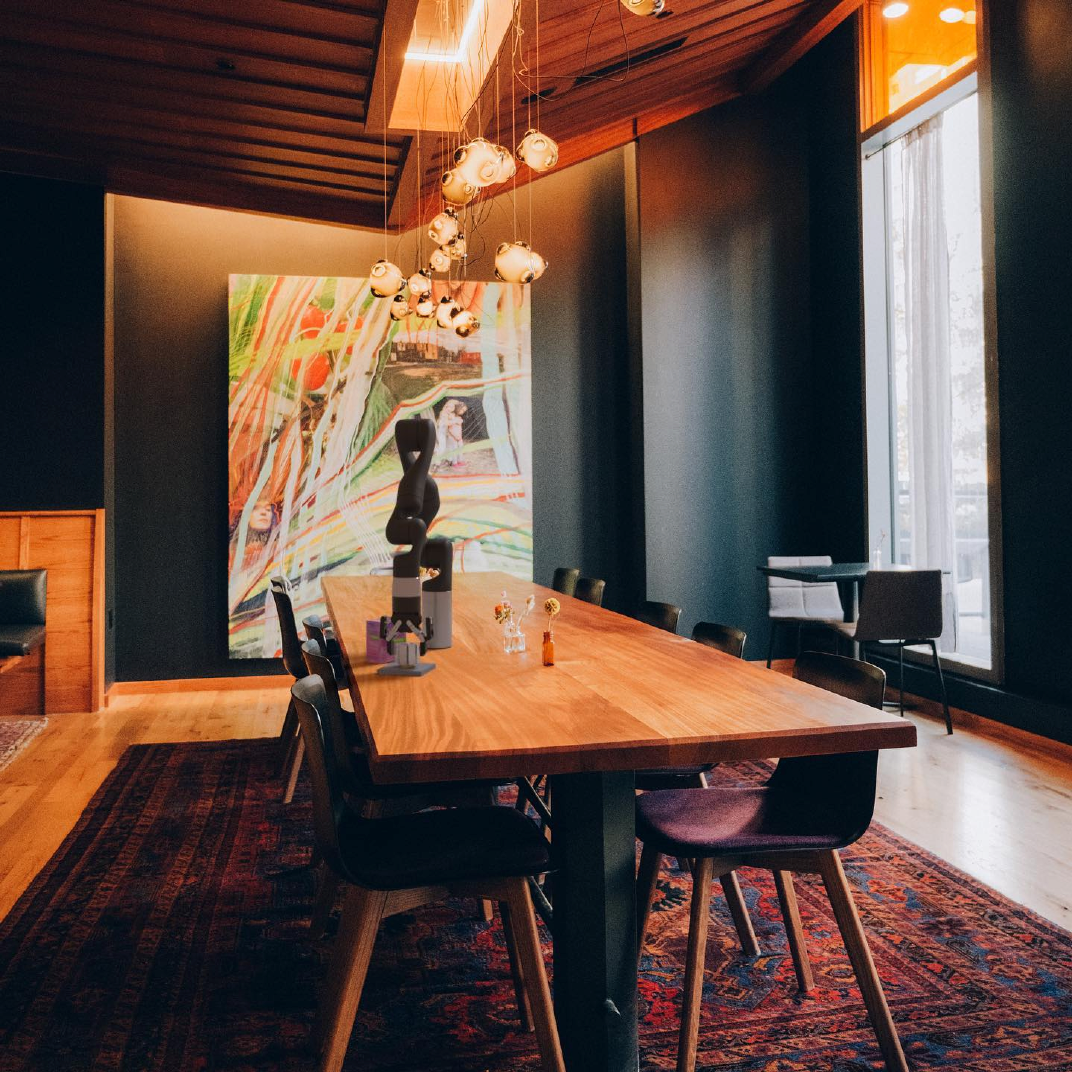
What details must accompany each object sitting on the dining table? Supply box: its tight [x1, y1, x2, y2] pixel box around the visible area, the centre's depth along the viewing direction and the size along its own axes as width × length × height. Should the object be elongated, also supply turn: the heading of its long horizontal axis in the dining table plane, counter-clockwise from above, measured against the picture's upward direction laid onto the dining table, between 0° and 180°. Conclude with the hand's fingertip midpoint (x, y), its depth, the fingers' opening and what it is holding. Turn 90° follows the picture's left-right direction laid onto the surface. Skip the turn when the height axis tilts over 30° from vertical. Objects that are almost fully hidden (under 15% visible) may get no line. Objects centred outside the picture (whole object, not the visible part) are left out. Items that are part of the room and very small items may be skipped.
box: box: [365, 618, 407, 665], centre depth 260 cm, size 10×6×12 cm, turn 143°
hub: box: [394, 641, 420, 665], centre depth 244 cm, size 6×6×5 cm
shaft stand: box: [376, 643, 437, 677], centre depth 244 cm, size 12×12×7 cm
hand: (406, 655), depth 244 cm, fingers open, 8 cm apart
